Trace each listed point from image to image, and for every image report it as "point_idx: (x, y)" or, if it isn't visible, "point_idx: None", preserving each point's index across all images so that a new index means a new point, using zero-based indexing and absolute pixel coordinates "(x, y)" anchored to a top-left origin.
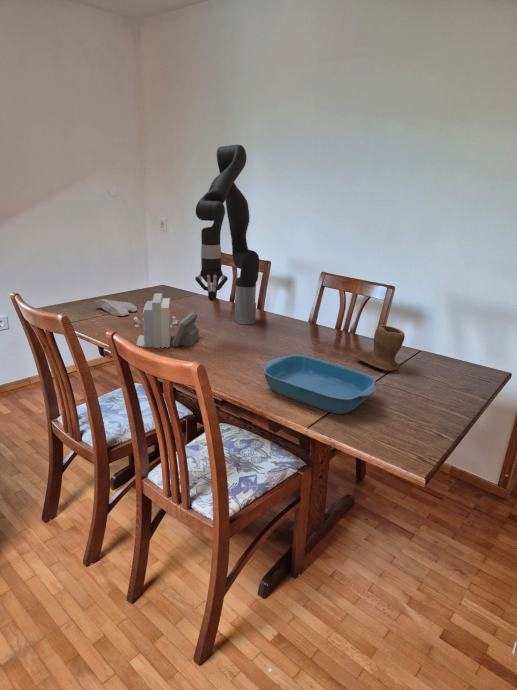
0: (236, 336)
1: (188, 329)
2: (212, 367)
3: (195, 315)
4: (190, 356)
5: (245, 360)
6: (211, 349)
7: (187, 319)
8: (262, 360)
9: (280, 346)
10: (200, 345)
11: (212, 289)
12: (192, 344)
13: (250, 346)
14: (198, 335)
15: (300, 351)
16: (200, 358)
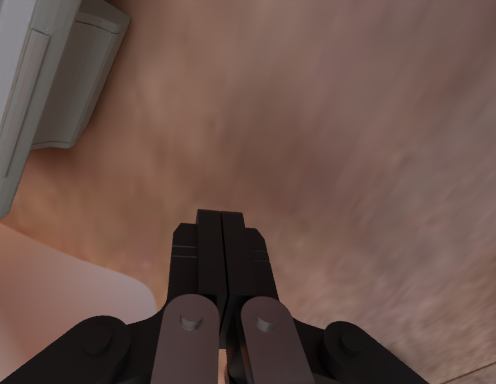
0: (356, 26)
1: (41, 126)
2: (162, 306)
3: (69, 12)
4: (87, 230)
5: (277, 276)
6: (182, 177)
7: (3, 166)
8: (327, 280)
9: (454, 189)
10: (136, 123)
11: (227, 380)
12: (92, 112)
13: (351, 172)
14: (127, 23)
15: (477, 236)
16: (127, 249)
